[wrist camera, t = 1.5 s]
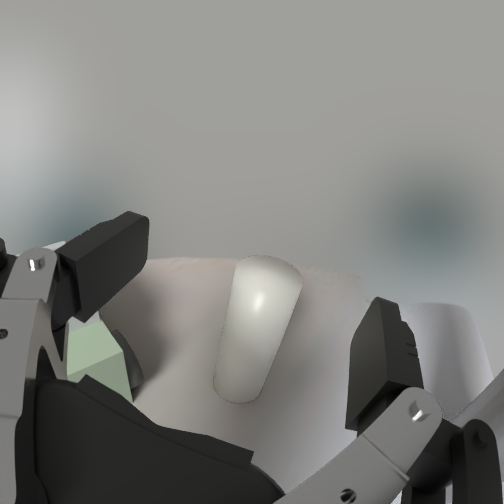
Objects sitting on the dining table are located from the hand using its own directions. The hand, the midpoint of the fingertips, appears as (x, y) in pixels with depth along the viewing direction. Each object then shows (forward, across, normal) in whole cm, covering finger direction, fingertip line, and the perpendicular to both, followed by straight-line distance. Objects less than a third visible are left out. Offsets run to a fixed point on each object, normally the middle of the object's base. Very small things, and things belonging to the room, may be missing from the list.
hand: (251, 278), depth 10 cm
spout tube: (+11, 0, +20) cm, 23 cm away
